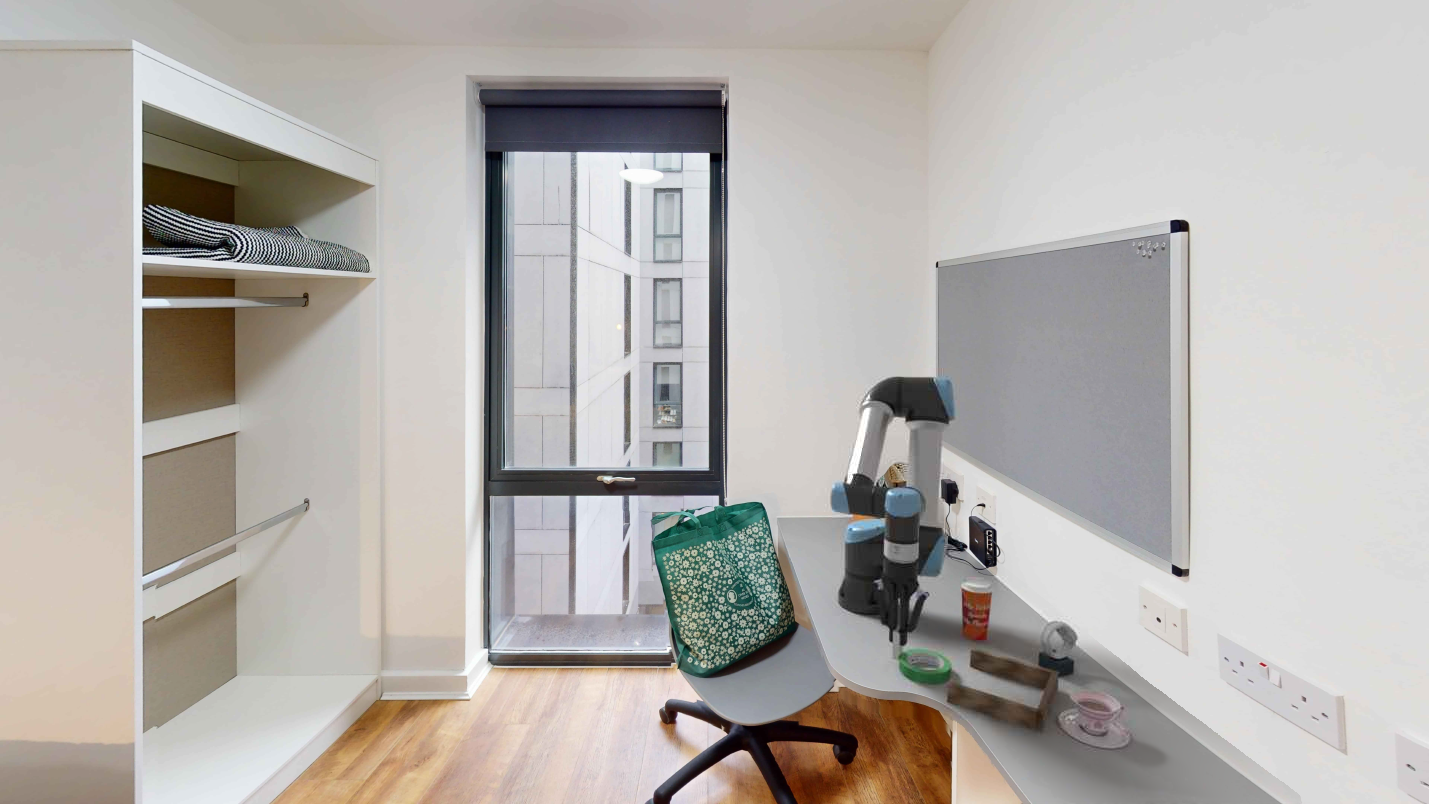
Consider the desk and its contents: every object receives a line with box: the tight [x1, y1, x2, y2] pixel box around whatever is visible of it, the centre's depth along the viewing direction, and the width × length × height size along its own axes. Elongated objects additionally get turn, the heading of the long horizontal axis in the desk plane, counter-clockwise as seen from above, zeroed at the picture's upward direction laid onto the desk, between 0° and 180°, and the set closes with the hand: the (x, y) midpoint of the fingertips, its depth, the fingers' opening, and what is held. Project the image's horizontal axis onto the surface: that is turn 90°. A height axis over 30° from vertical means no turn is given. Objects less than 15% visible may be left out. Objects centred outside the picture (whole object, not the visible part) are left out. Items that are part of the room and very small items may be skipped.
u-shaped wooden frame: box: [946, 647, 1060, 734], centre depth 134 cm, size 18×18×4 cm
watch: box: [1037, 620, 1079, 678], centre depth 144 cm, size 6×8×11 cm
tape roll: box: [898, 648, 952, 686], centre depth 144 cm, size 11×11×3 cm
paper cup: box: [959, 576, 995, 642], centre depth 160 cm, size 8×8×14 cm
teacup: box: [1057, 688, 1131, 750], centre depth 123 cm, size 12×12×6 cm
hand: (897, 656), depth 148 cm, fingers closed
